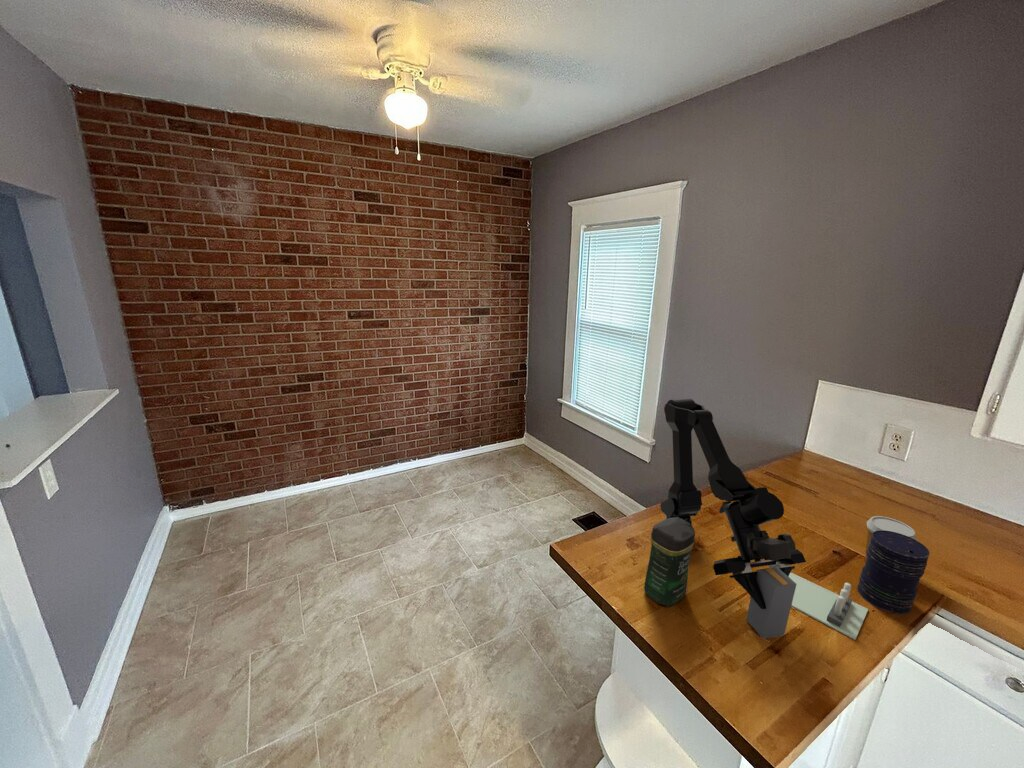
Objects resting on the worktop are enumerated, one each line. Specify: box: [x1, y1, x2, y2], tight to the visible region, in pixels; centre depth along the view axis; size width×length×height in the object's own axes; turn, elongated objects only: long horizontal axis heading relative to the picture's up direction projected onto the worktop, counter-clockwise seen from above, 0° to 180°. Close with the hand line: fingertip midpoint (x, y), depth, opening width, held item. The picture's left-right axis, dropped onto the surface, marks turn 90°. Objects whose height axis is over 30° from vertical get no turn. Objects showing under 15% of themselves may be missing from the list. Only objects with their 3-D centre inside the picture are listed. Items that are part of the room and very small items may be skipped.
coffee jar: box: [643, 517, 696, 607], centre depth 96 cm, size 10×8×19 cm
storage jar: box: [857, 530, 930, 615], centre depth 96 cm, size 10×10×15 cm
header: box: [789, 571, 869, 641], centre depth 96 cm, size 16×12×6 cm
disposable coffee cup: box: [864, 515, 918, 564], centre depth 107 cm, size 10×10×12 cm
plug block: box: [745, 567, 796, 640], centre depth 88 cm, size 5×5×13 cm
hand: (775, 607), depth 87 cm, fingers closed on plug block, 5 cm apart
